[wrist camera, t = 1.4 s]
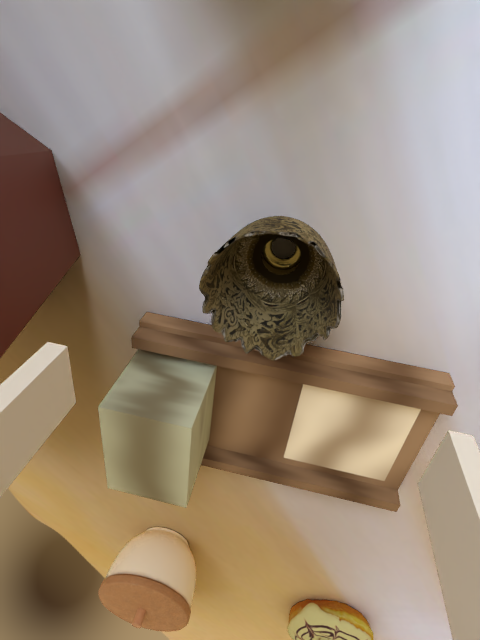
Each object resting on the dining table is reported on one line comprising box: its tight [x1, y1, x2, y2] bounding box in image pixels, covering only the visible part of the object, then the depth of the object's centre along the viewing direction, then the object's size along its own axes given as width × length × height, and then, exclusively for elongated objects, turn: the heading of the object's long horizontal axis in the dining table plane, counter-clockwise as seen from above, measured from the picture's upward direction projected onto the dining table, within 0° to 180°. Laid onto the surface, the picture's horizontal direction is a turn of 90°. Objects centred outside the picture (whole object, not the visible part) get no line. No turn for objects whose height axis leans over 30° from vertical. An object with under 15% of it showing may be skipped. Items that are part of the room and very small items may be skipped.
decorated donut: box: [288, 599, 373, 640], centre depth 51 cm, size 10×11×4 cm
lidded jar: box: [99, 527, 196, 631], centre depth 46 cm, size 11×11×9 cm
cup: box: [199, 216, 344, 360], centre depth 23 cm, size 8×7×8 cm
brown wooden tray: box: [98, 312, 458, 512], centre depth 31 cm, size 24×14×8 cm, turn 83°
